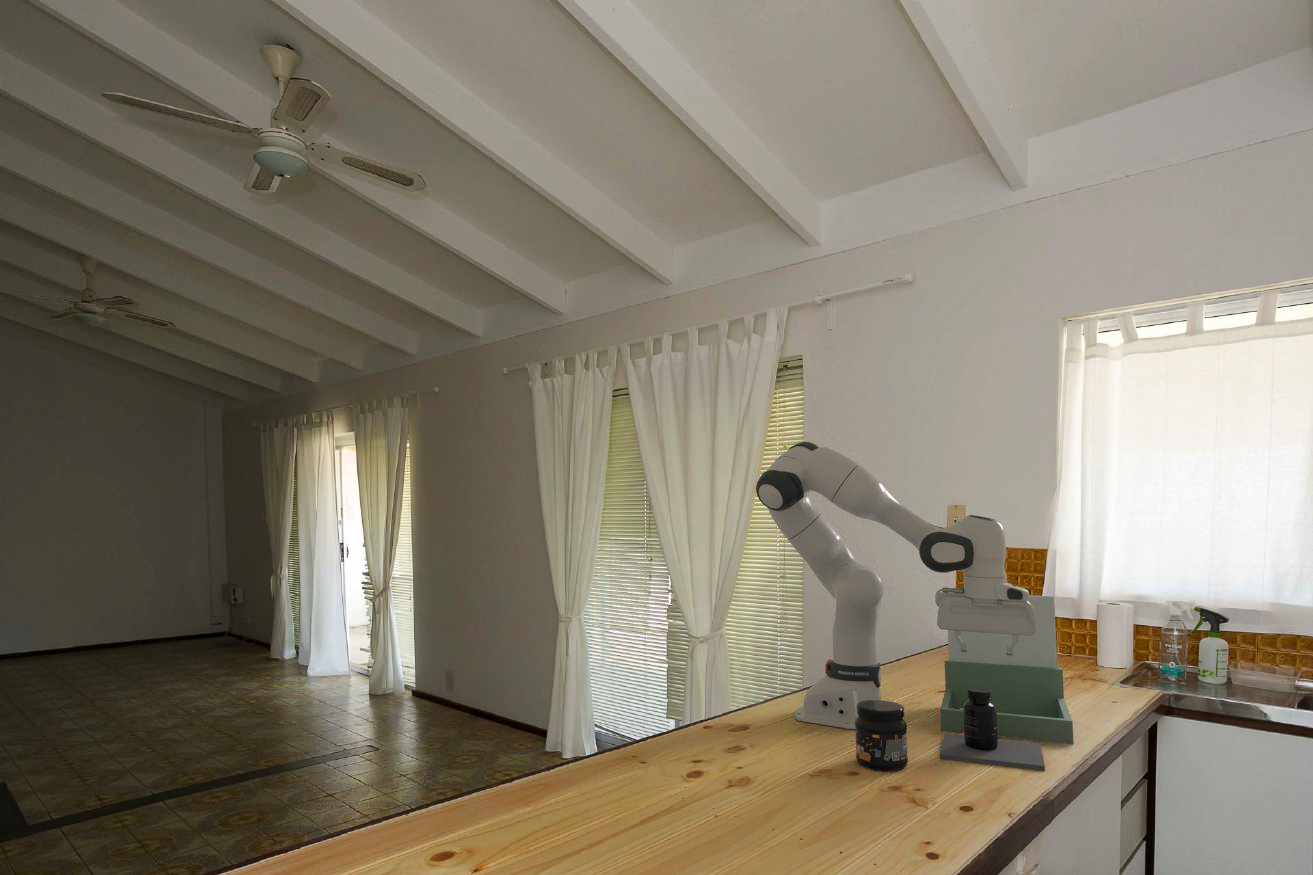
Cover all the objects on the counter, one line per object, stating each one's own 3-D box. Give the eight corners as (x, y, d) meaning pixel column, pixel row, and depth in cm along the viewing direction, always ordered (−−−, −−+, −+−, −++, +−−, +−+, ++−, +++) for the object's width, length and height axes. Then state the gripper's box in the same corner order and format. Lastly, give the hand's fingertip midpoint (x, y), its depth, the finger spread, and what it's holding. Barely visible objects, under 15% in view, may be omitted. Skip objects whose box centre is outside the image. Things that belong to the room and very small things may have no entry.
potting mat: (940, 758, 165) (940, 753, 166) (944, 737, 180) (944, 733, 180) (1045, 770, 158) (1044, 765, 158) (1040, 748, 172) (1040, 743, 172)
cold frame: (941, 730, 186) (936, 603, 189) (946, 705, 209) (942, 592, 211) (1073, 743, 175) (1066, 608, 178) (1064, 716, 198) (1058, 596, 200)
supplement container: (849, 756, 167) (847, 699, 168) (897, 755, 168) (895, 698, 169) (865, 773, 157) (863, 712, 158) (916, 772, 158) (914, 711, 159)
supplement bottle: (1003, 750, 167) (1001, 693, 168) (972, 751, 167) (969, 693, 168) (990, 741, 174) (987, 686, 175) (959, 741, 174) (957, 686, 175)
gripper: (934, 588, 173) (935, 651, 172) (1036, 593, 165) (1038, 659, 164) (936, 585, 179) (937, 646, 178) (1034, 590, 171) (1036, 654, 170)
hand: (986, 653), depth 171 cm, fingers open, 8 cm apart
